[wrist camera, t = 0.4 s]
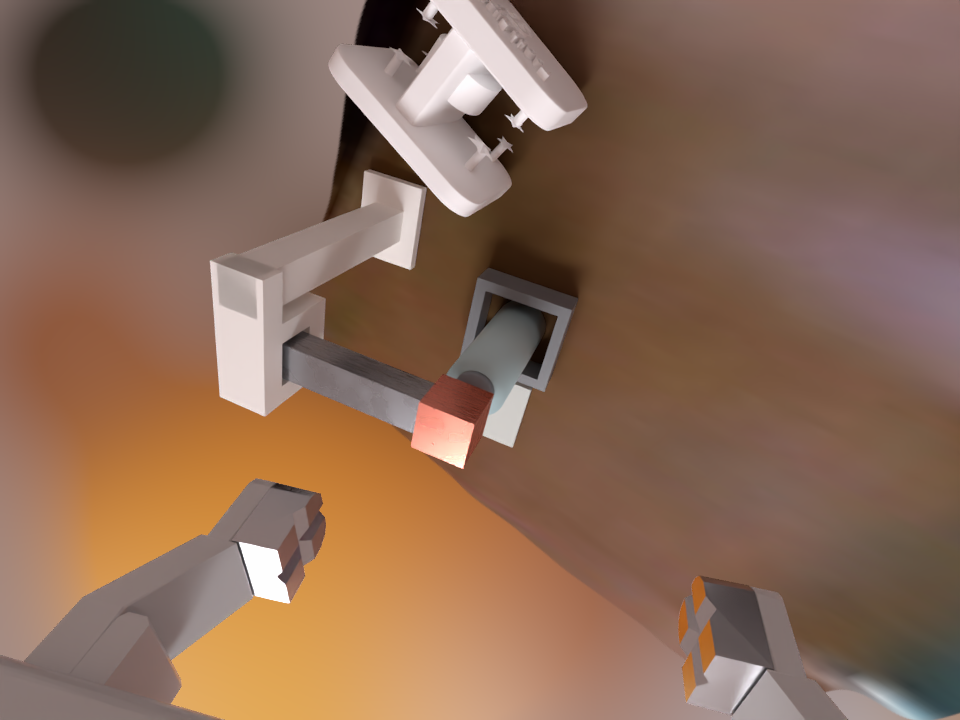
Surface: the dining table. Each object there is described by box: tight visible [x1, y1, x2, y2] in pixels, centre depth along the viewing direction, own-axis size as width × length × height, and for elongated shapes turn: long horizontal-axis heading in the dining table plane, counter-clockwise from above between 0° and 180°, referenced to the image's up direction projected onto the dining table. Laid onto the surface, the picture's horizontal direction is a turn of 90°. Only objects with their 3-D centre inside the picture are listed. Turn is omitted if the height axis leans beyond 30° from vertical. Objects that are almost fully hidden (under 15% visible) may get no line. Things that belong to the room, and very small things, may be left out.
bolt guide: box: [210, 170, 427, 416], centre depth 44 cm, size 14×6×21 cm, turn 167°
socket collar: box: [460, 268, 578, 392], centre depth 50 cm, size 9×9×3 cm
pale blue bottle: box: [447, 301, 546, 415], centre depth 46 cm, size 5×5×14 cm
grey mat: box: [483, 382, 532, 447], centre depth 57 cm, size 8×8×1 cm
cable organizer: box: [328, 0, 587, 217], centre depth 38 cm, size 15×11×12 cm
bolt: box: [282, 331, 494, 469], centre depth 38 cm, size 4×21×4 cm, turn 77°
